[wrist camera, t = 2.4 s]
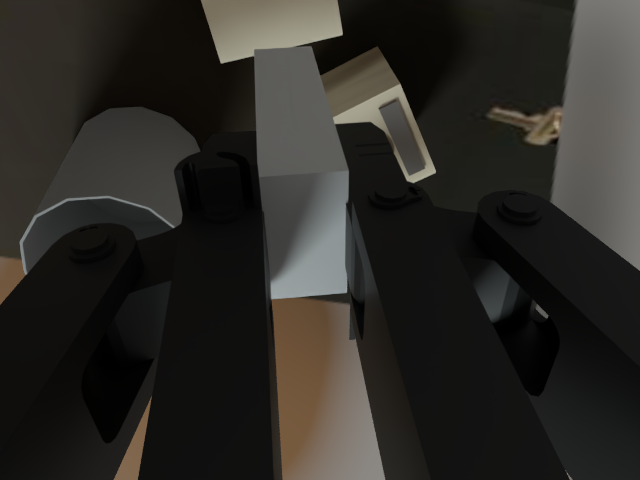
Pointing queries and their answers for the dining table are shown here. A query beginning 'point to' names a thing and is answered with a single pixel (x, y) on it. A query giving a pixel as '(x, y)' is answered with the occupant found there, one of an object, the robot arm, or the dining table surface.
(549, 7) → the dining table surface
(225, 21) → the plain block
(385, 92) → the striped block
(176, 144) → the cup
